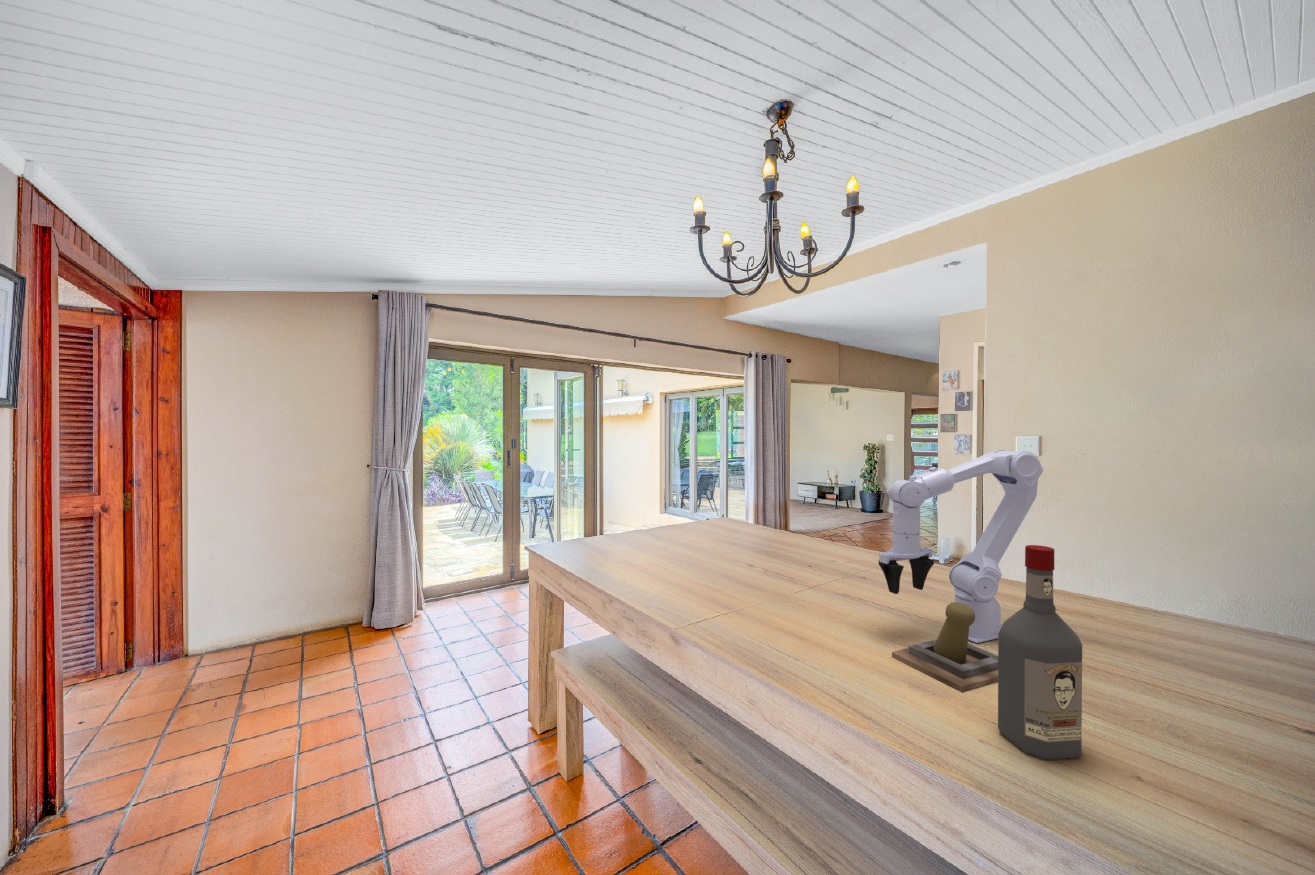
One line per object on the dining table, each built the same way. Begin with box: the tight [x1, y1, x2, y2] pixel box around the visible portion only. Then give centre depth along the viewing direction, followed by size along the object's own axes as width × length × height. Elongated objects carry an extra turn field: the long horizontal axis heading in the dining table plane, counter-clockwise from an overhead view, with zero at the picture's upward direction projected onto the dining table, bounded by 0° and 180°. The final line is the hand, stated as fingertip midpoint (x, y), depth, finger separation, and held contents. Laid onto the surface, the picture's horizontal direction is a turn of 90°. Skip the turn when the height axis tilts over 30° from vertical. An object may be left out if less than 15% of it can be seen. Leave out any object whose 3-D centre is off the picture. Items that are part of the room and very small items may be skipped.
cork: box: [933, 601, 975, 663], centre depth 105 cm, size 6×6×11 cm
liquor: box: [997, 544, 1083, 761], centre depth 80 cm, size 9×9×30 cm
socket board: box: [891, 638, 998, 693], centre depth 106 cm, size 18×16×2 cm
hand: (905, 590), depth 120 cm, fingers open, 7 cm apart
